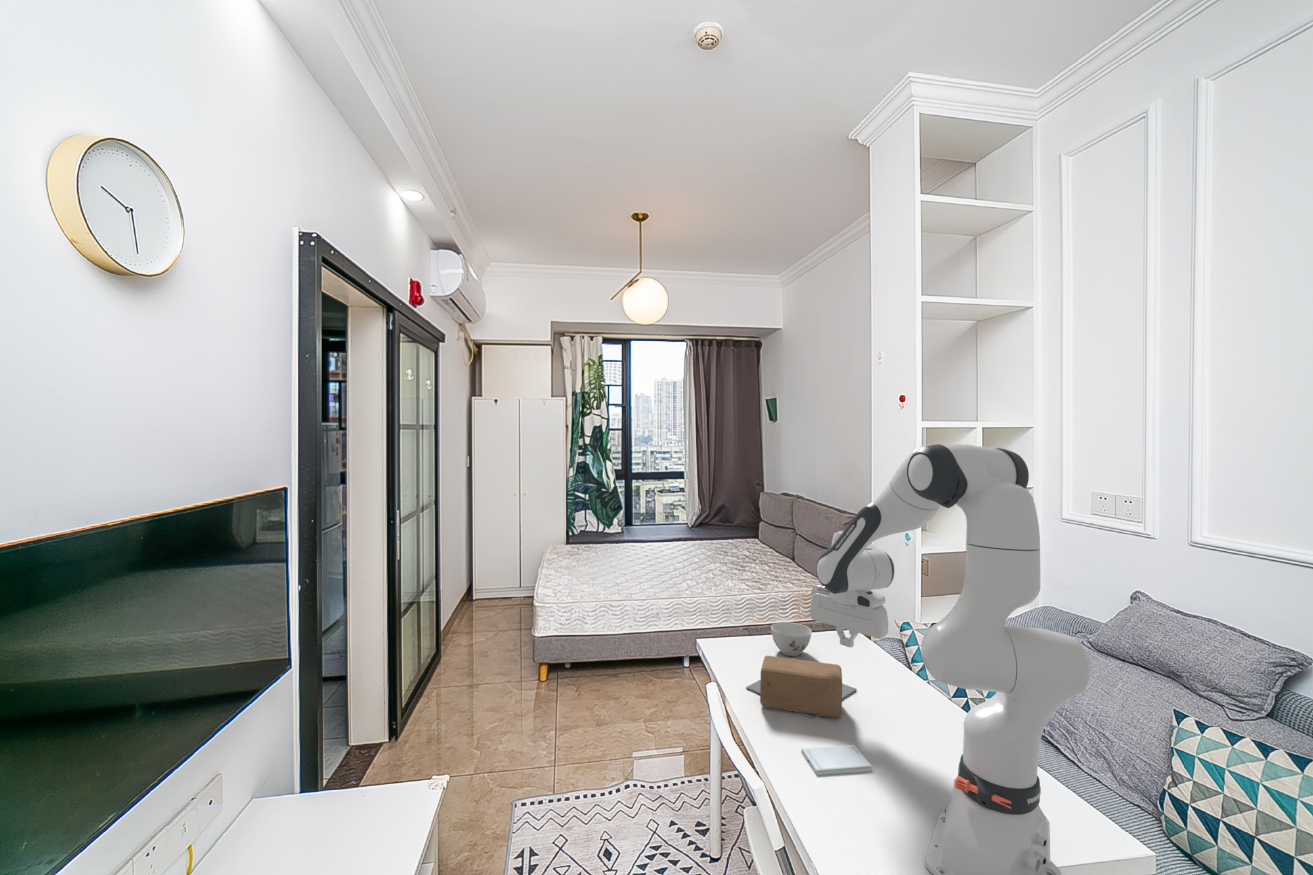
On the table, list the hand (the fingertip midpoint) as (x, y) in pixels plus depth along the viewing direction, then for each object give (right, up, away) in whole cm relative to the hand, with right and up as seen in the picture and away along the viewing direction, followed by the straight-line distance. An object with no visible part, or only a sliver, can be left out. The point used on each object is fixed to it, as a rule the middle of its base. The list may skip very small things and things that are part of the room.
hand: (846, 645), depth 145 cm
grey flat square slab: (-9, -16, +10) cm, 21 cm away
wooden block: (-2, -11, -2) cm, 11 cm away
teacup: (-6, -16, +36) cm, 40 cm away
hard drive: (-10, -18, -22) cm, 30 cm away
